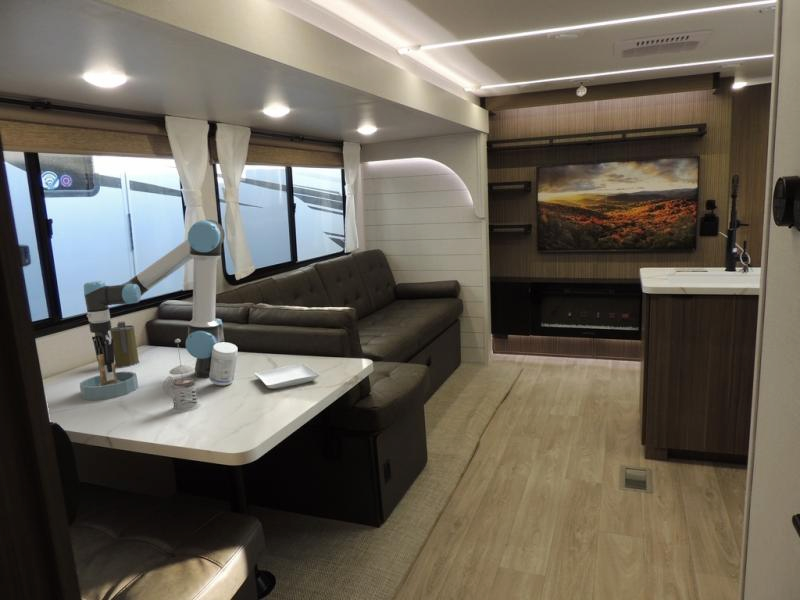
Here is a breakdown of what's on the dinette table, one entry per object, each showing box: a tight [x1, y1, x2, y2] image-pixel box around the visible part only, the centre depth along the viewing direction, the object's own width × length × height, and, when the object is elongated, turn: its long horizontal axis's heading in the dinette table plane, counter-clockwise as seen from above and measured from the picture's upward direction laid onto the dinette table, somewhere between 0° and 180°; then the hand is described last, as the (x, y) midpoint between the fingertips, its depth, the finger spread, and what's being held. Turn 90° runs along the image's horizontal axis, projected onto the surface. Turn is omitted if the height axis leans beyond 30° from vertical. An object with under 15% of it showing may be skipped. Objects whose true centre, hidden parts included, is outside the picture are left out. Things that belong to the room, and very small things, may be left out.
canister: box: [109, 321, 140, 368], centre depth 270 cm, size 11×10×20 cm
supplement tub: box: [208, 341, 239, 386], centre depth 228 cm, size 10×10×15 cm
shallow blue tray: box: [79, 371, 139, 401], centre depth 230 cm, size 20×20×5 cm
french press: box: [162, 338, 202, 413], centre depth 203 cm, size 10×12×25 cm
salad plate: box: [254, 363, 320, 390], centre depth 230 cm, size 21×21×3 cm
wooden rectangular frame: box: [96, 354, 117, 385], centre depth 229 cm, size 2×5×12 cm, turn 141°
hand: (108, 379), depth 230 cm, fingers closed on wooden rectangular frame, 2 cm apart
